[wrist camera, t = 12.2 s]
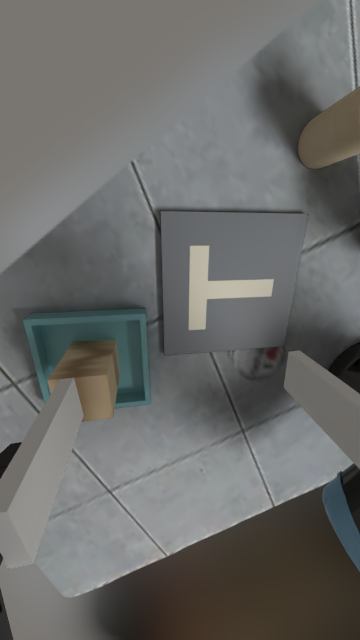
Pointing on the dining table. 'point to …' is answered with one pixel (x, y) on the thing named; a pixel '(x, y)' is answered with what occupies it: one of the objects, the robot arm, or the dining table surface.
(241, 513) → the dining table surface
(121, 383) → the tray
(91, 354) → the wooden block
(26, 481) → the robot arm
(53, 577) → the dining table surface
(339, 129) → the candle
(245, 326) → the board
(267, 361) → the dining table surface
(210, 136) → the dining table surface
